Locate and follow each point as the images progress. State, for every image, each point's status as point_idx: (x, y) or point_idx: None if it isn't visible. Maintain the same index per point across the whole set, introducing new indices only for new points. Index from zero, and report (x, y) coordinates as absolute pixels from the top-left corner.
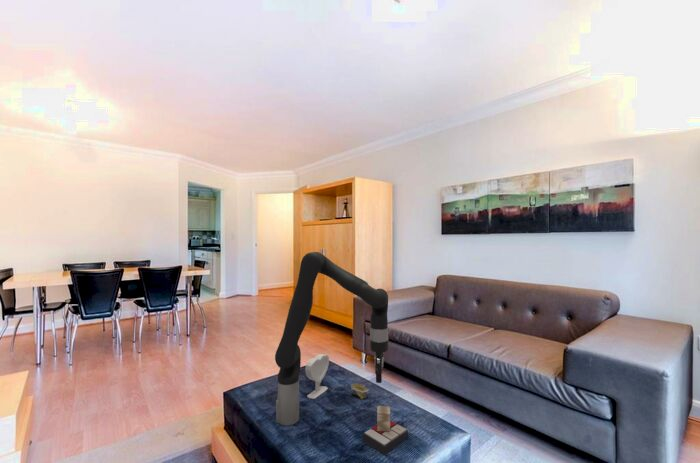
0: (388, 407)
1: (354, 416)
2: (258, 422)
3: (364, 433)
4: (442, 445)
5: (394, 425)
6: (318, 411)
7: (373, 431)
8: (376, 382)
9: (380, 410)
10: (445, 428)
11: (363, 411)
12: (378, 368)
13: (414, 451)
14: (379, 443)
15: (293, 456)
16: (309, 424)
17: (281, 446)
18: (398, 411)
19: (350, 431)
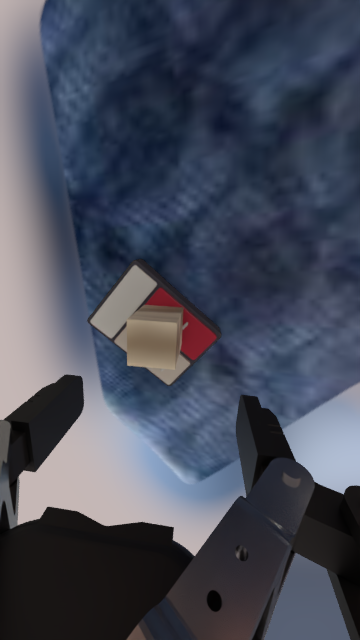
0: (169, 364)
1: (269, 222)
2: None
3: (134, 263)
4: (147, 443)
5: (187, 355)
6: (312, 48)
7: (143, 292)
8: (68, 375)
9: (145, 332)
10: (210, 465)
11: (300, 254)
12: (246, 431)
13: (119, 384)
14: (96, 308)
15: (42, 26)
16: (216, 31)
17: None
18: (293, 369)
19: (183, 215)
